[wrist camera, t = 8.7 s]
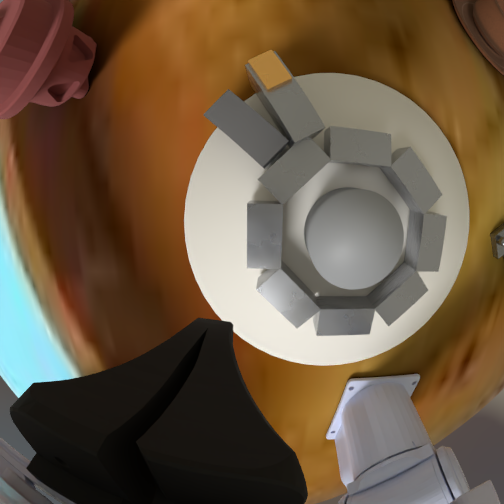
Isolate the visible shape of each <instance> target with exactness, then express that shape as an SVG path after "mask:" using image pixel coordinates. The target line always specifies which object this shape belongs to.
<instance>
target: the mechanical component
mask: <svg viewBox="0 0 504 504" xmlns="http://www.w3.org/2000/svg"><path fill="white" fill-rule="evenodd" d="M73 18H74V8H73V5H72V3H71V2H70V1H68V0H3V1H2V2H1V3H0V119H8V118H10V117H13V116H14V115H16V114H17V113H18V112H20V111H21V110H22V109H23V108H24V107H25V106H26V105H27V104H28V103H29V102H34V103H37V104H40V105H45V106H58V105H60V104H62V103H64V102H66V101H67V100H68V99H70V98H71V97H74V98H77V99H80V98H82V97H84V96H85V95H86V93H87V92H88V89H89V83H88V74H89V72H90V70H91V67H92V65H93V62H94V58H95V52H96V46H97V44H96V43H95V42H94V41H93V39H92V38H91V37H90V36H88V35H86V34H84V33H83V32H81V31H80V30H78V29H76V28H75V27H73V26H72V23H73Z"/></svg>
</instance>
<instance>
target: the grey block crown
mask: <svg viewBox="0 0 504 504" xmlns="http://www.w3.org/2000/svg"><path fill="white" fill-rule="evenodd" d="M245 67H246V71H247V74H248V78H249V82H250V85H251V87H252V89H253V90H254V92H255V93H256V95H257V96H258V98H259V99H260V101H261V102H262V104H263V106H264V107H265V109H266V110H267V112H268V113H269V115H270V117H271V118H272V120H273V122H274V123H275V125H276V126H277V128H278V130H279V131H280V133H281V134H282V135H283V136H284V137H285V138H286V139H287V140H288V144H287V145H288V147H289V148H290V149H289V150H288V151H287V152H286V153H285V154H284V155H283V156H282V157H281V158H279V159H278V160H277V161H276V162H275V163H274V164H273V165H272V166H271V167H270V168H269V169H268V170H267V171H266V172H265V173H264V174H262V175H261V176H260V177H259V178H258V179H257V180H258V181H259V182H260V183H261V184H262V185H263V186H264V187H265V188H266V189H267V190H268V191H269V192H270V193H271V194H272V195H273V196H274V197H275V198H276V199H277V200H278V201H256V200H250V201H249V202H248V203H247V268H256V269H267V270H266V271H265V272H264V273H263V274H262V275H261V276H259V277H258V280H257V287H256V290H257V291H258V292H259V293H260V294H261V295H262V296H263V297H264V298H265V299H266V300H267V301H268V302H269V303H270V304H272V305H273V306H274V307H275V308H276V309H277V310H278V311H279V312H280V313H281V314H282V315H283V316H284V317H285V318H286V319H287V320H288V321H289V322H290V323H292V324H293V325H294V326H295V327H296V328H298V327H300V326H301V325H302V324H304V323H305V322H306V321H307V320H309V319H310V318H311V317H313V316H314V317H313V323H314V327H315V332H316V336H340V335H367V334H370V331H371V326H372V322H373V318H374V313H375V310H376V312H377V313H378V314H379V315H380V316H381V318H382V319H383V320H384V321H385V323H386V324H387V325H388V326H390V325H391V324H392V323H393V322H395V321H396V320H397V319H398V318H399V317H400V316H401V315H403V314H404V313H405V312H406V311H407V310H408V309H409V308H410V307H411V306H412V305H414V304H415V303H416V302H417V301H418V300H419V299H420V298H421V297H422V296H423V295H424V294H425V293H426V292H427V291H428V288H427V287H426V285H425V284H424V282H423V280H422V279H421V277H420V275H419V274H418V272H439V267H440V261H441V256H442V250H443V243H444V237H445V229H446V220H447V216H445V215H441V214H438V213H435V212H430V211H428V210H429V209H430V208H431V207H432V206H433V205H434V204H435V202H436V201H437V200H438V199H439V198H440V197H441V196H442V193H441V191H440V190H439V188H438V186H437V185H436V183H435V182H434V180H433V178H432V177H431V175H430V174H429V172H428V171H427V169H426V168H425V166H424V165H423V163H422V162H421V161H420V159H419V158H418V156H417V155H416V153H415V152H414V151H413V149H412V148H411V147H405V148H399V149H396V150H395V151H394V152H393V153H392V154H391V134H388V133H382V132H375V131H369V130H362V129H354V128H345V127H336V126H330V127H329V128H327V129H326V130H325V131H324V151H323V150H322V149H321V148H320V147H319V146H318V145H317V144H316V143H315V142H314V141H313V140H312V139H313V138H315V137H316V136H317V135H318V134H319V133H320V132H321V131H322V130H323V129H324V128H326V127H325V125H324V124H323V122H322V120H321V119H320V117H319V115H318V114H317V112H316V110H315V109H314V107H313V105H312V104H311V102H310V101H309V99H308V98H307V96H306V95H305V93H304V91H303V90H302V88H301V87H300V85H299V84H298V82H297V81H296V79H295V78H294V77H293V75H292V74H291V72H290V71H289V69H288V68H287V67H286V65H285V64H284V62H283V61H282V60H281V58H280V57H279V56H278V54H277V53H276V52H275V51H274V52H273V51H272V50H269V51H267V52H265V53H263V54H260V55H258V56H256V57H254V58H252V59H250V60H248V64H246V65H245ZM327 163H342V164H353V165H363V166H372V167H379V168H380V170H381V171H382V172H383V173H384V175H385V176H386V177H387V179H388V180H389V181H390V183H391V184H392V185H393V187H394V188H395V189H396V191H397V192H398V193H399V195H400V196H401V198H402V199H403V200H404V202H405V203H406V205H407V206H408V208H409V209H410V216H409V226H408V235H407V243H406V250H405V257H404V262H403V263H402V264H401V265H400V266H399V267H398V268H397V269H396V270H395V271H394V272H393V273H391V274H390V275H389V276H388V277H387V278H386V279H385V280H384V281H383V282H382V283H381V284H379V285H378V286H377V287H376V288H375V289H374V290H373V291H372V292H370V293H369V294H368V295H367V296H316V295H315V294H314V293H313V292H312V291H311V290H310V289H309V288H308V287H307V286H306V285H305V284H304V283H303V282H302V281H301V280H300V279H299V278H298V277H297V276H296V275H295V273H294V272H293V271H292V270H291V269H290V268H289V267H288V266H287V265H286V264H285V263H284V262H283V261H282V260H281V254H282V225H283V204H284V203H286V202H287V201H288V200H289V199H290V198H291V197H292V196H293V195H294V194H295V193H296V192H297V191H298V190H299V189H300V188H302V187H303V186H304V185H305V184H306V183H307V182H308V181H309V180H310V179H311V178H312V177H313V176H314V175H316V174H317V173H318V172H319V171H320V170H321V169H322V168H323V167H324V166H325V165H326V164H327Z"/></svg>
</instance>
